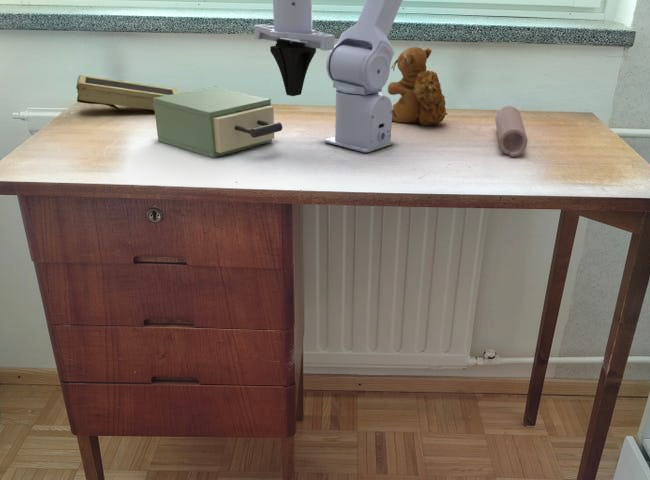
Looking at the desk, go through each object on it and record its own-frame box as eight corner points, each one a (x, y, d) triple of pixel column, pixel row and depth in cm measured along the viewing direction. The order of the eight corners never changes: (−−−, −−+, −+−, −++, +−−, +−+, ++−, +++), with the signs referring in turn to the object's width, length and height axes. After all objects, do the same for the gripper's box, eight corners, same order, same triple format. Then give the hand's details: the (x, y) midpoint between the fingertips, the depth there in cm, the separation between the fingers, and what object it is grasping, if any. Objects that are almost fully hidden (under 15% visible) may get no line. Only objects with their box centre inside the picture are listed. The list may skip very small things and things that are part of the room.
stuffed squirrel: (416, 110, 143) (421, 41, 136) (460, 126, 133) (468, 53, 126) (376, 116, 138) (380, 44, 131) (419, 132, 128) (426, 56, 121)
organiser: (272, 141, 120) (270, 99, 116) (213, 157, 111) (209, 112, 107) (217, 126, 127) (214, 86, 124) (158, 140, 118) (152, 97, 115)
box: (77, 100, 135) (77, 73, 133) (193, 115, 143) (195, 90, 141) (76, 110, 129) (76, 83, 126) (197, 126, 137) (199, 100, 134)
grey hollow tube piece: (531, 132, 114) (523, 107, 129) (503, 127, 114) (498, 103, 129) (523, 159, 116) (516, 132, 131) (496, 154, 117) (492, 128, 132)
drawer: (296, 144, 116) (295, 111, 113) (242, 159, 108) (240, 125, 105) (223, 124, 125) (221, 94, 123) (168, 137, 117) (165, 105, 114)
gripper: (237, -7, 101) (242, 90, 108) (311, 2, 93) (311, 106, 101) (271, -9, 105) (274, 84, 113) (344, -1, 98) (342, 99, 105)
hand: (293, 94), depth 107 cm, fingers closed
